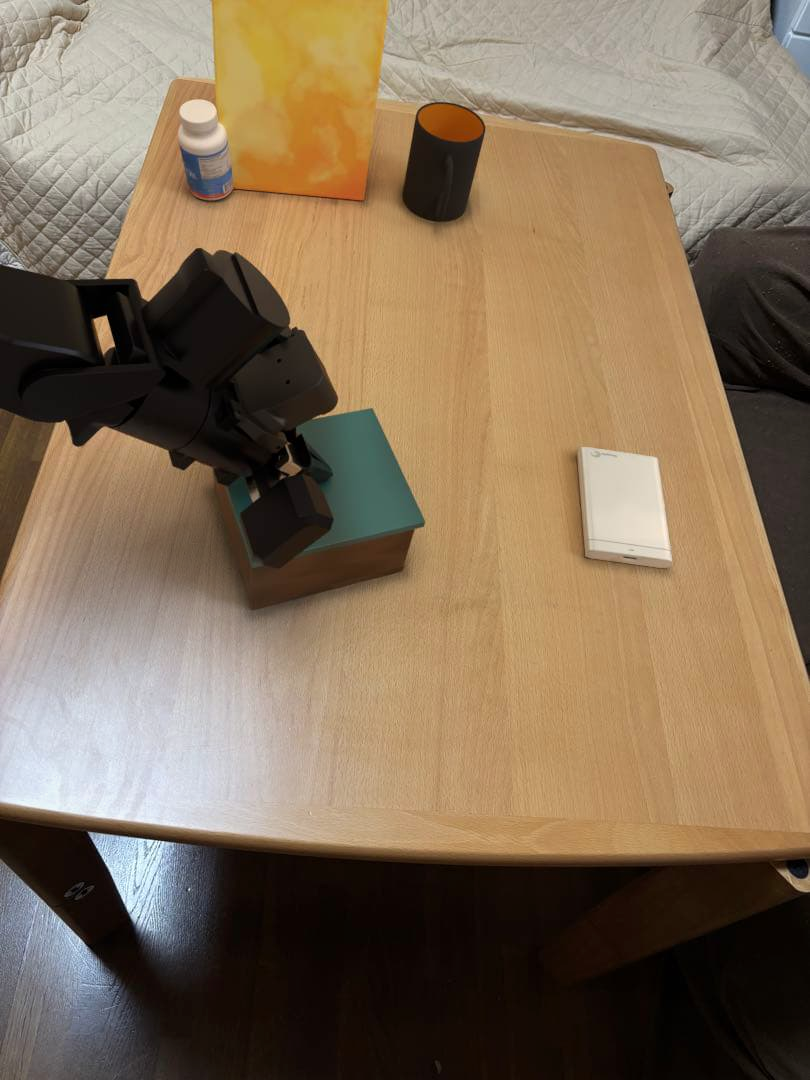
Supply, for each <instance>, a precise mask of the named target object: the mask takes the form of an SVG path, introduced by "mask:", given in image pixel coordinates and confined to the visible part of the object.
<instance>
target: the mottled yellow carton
mask: <svg viewBox="0 0 810 1080" xmlns="http://www.w3.org/2000/svg"><path fill="white" fill-rule="evenodd" d="M389 8H390V0H211V17H212V19H211V20H212V44H213V65H214V66H213V67H214V68H213V69H214V88H215V89H214V91H215V107H216V110H217V116H218V123H220V124H222V125H223V126H224V128H225V130H226V133H227V139H228V146H229V153H230V160H231V167H232V173H233V179H234V186H233V189H234V190H244V191H245V190H246V191H255V192H266V193H275V194H276V193H277V194H287V195H298V196H309V197H319V198H329V199H330V198H331V199H342V200H351V201H364V200H365V196H366V188H367V180H368V172H369V164H370V157H371V156H370V155H371V149H372V142H373V141H372V140H373V132H374V124H375V117H376V109H377V103H378V102H377V101H378V92H379V86H380V77H381V72H382V71H381V70H382V61H383V55H384V45H385V38H386V31H387V23H388V14H389ZM233 189H232V190H233Z"/></svg>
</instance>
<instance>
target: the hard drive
mask: <svg viewBox="0 0 810 1080" xmlns="http://www.w3.org/2000/svg"><path fill="white" fill-rule="evenodd" d="M576 456H577V457H576V458H577V469H578V470H577V471H578V472H577V473H578V484H579V496H580V506H581V507H580V508H581V521H582V532H583V543H584V544H583V545H584V547H583V548H584V557H586V558H588V559H594V560H600V561H606V562H607V561H608V562H614V563H623V564H629V565H637V566H643V567H650V568H657V569H668V568H669V567H670V566H671V565H672V564H673V555H672V548H671V541H670V536H669V527H668V520H667V513H666V506H665V499H664V494H663V493H664V492H663V486H662V478H661V472H660V465H659V459H658V458H657V457H656V456H652V455H645V454H639V453H631V452H624V451H619V450H618V451H617V450H612V449H603V448H597V447H592V446H591V447H590V446H581V447H580V448H579V450H578V451H577V453H576Z"/></svg>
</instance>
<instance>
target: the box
mask: <svg viewBox="0 0 810 1080" xmlns="http://www.w3.org/2000/svg"><path fill="white" fill-rule="evenodd" d="M212 476H213V478H212V479H213V492H214V495H215V498H216V502H217V505H218V508H219V510H220V513H221V517H222V520H223V523H224V526H225V530H226V533H227V536H228V538H229V542H230V545H231V548H232V551H233V555H234V557H235V560H236V564H237V567H238V570H239V573H240V576H241V578H242V583H243V587H244V588H245V592H246V596H247V599H248V602H249V604H250V607H251V610H252V611H255V610H259V609H262V608H266V607H269V606H273V605H278V604H280V603H281V604H282V603H285V602H289V601H292V600H293V601H294V600H297V599H301V598H304V597H307V596H311V595H316V594H319V593H324V592H327V591H331V590H334V589H339V588H342V587H346V586H350V585H354V584H358V583H362V582H365V581H370V580H373V579H377V578H381V577H384V576H388V575H392V574H396V573H399V572H403V570H404V567H405V563H406V560H407V556H408V552H409V550H410V546H411V543H412V541H413V537H414V534H415V530H416V529H413V530H409V531H405V532H401V533H396V534H392V535H388V536H384V537H380V538H376V539H372V540H368V541H363V542H359V543H355V544H351V545H347V546H343V547H339V548H335V549H330V550H326V551H322V552H318V553H314V554H310V555H306V556H301V557H297V558H293V559H292V560H291V561H289V562H288V563H287V564H285V565H284V566H283V567H281V568H280V569H276V568H272V567H268V566H260V567H256V568H252V567H251V564H250V561H249V558H248V555H247V552H246V549H245V546H244V543H243V540H242V536H241V533H240V530H239V527H238V524H237V521H236V518H235V515H234V512H233V509H232V506H231V503H230V500H229V497H228V494H227V491H226V488H225V485H222V484H219V483H218V482H217V479H216V476H215V473H214V470H213V469H212Z"/></svg>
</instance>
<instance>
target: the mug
mask: <svg viewBox="0 0 810 1080" xmlns="http://www.w3.org/2000/svg"><path fill="white" fill-rule="evenodd" d="M485 134H486V124H485V122H484V120H483V119H482V117H481V116H479V115H478V114H477V113H476V112H475V111H474V110H472V109H470V108H468V107H466V106H464V105H460V104H457V103H454V102H449V101H448V102H447V101H434V102H430V103H426V104H424V105H422V106H421V107H419V108H418V110H417V111H416V113H415V120H414V124H413V130H412V135H411V141H410V147H409V152H408V158H407V163H406V164H407V165H406V170H405V177H404V184H403V188H402V195H401V196H402V202H403V203H404V206H405V207H406V208H407V209H408V211H410V212H412V213H413V214H414V215H416V216H417V217H420V218H422V219H425V220H429V221H433V222H450V221H454V220H456V219H459V218H460V217H462V216H463V215H464V213H465V211H466V210H467V206H468V202H469V199H470V194H471V190H472V187H473V182H474V178H475V175H476V174H475V173H476V170H477V167H478V162H479V158H480V155H481V150H482V146H483V142H484V139H485Z"/></svg>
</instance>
